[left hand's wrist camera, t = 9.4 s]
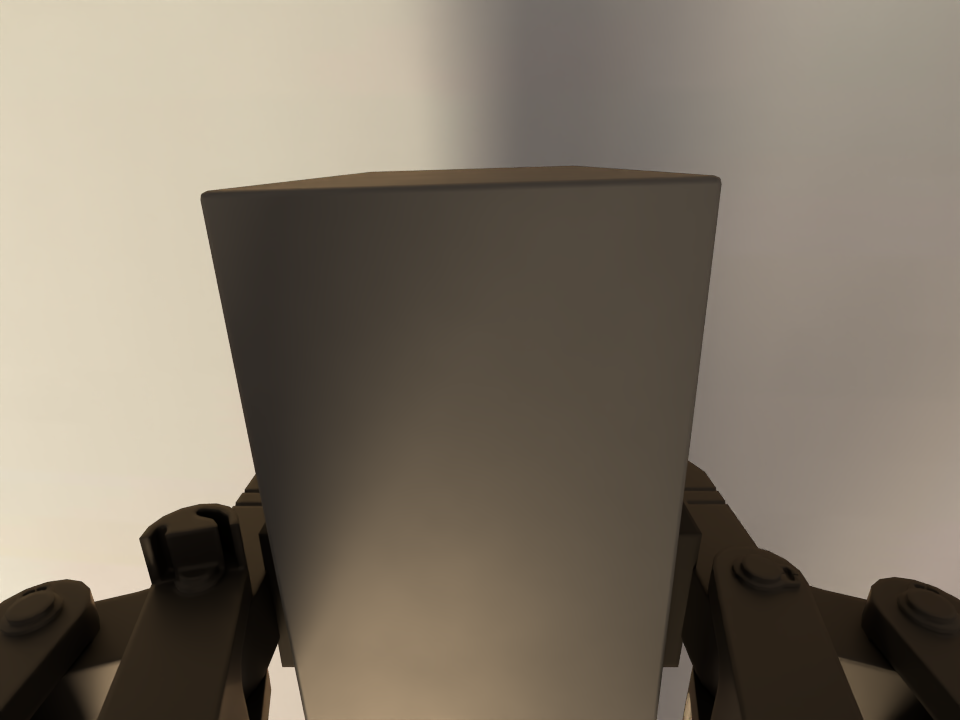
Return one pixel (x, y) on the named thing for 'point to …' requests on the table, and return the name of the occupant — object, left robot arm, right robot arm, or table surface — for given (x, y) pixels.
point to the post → (470, 428)
